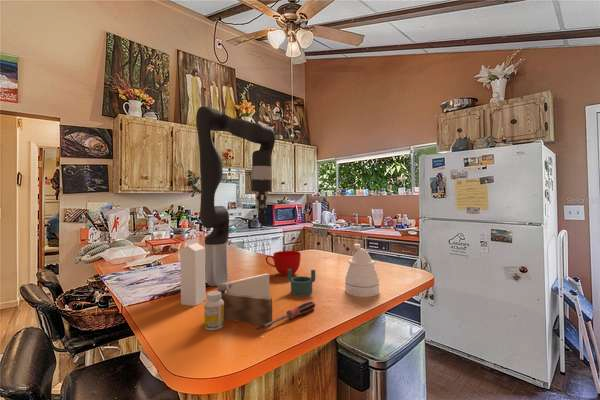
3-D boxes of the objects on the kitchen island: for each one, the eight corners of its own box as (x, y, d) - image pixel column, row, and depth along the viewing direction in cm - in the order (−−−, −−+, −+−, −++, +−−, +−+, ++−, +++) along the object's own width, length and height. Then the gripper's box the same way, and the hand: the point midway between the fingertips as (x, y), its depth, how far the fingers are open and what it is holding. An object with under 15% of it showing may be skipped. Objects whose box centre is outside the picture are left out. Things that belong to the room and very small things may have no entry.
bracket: (317, 293, 111) (317, 270, 111) (296, 297, 106) (296, 273, 106) (305, 287, 119) (305, 265, 119) (285, 291, 114) (285, 268, 114)
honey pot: (338, 291, 113) (338, 245, 112) (356, 284, 122) (356, 241, 122) (368, 299, 104) (368, 249, 104) (385, 290, 113) (384, 244, 113)
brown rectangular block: (212, 317, 90) (212, 293, 89) (221, 312, 94) (220, 288, 94) (270, 325, 83) (269, 299, 83) (276, 319, 87) (276, 295, 87)
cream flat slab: (220, 315, 90) (219, 286, 90) (216, 313, 92) (215, 284, 92) (270, 300, 103) (270, 274, 103) (266, 298, 105) (265, 272, 105)
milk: (180, 304, 101) (179, 241, 100) (191, 298, 107) (189, 238, 106) (196, 306, 99) (194, 241, 99) (206, 299, 105) (204, 239, 105)
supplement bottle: (211, 332, 79) (211, 297, 79) (200, 327, 83) (200, 293, 83) (227, 326, 83) (227, 292, 83) (217, 321, 87) (216, 289, 87)
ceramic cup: (269, 270, 147) (269, 250, 147) (302, 271, 144) (302, 251, 144) (262, 277, 134) (262, 255, 134) (298, 278, 131) (298, 256, 131)
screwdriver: (258, 337, 77) (258, 326, 77) (251, 333, 79) (251, 322, 79) (317, 309, 95) (317, 300, 95) (310, 307, 97) (310, 298, 97)
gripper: (251, 179, 115) (251, 220, 115) (251, 177, 101) (251, 224, 101) (270, 179, 116) (269, 220, 117) (273, 178, 102) (272, 224, 103)
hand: (261, 222), depth 109 cm, fingers open, 8 cm apart
